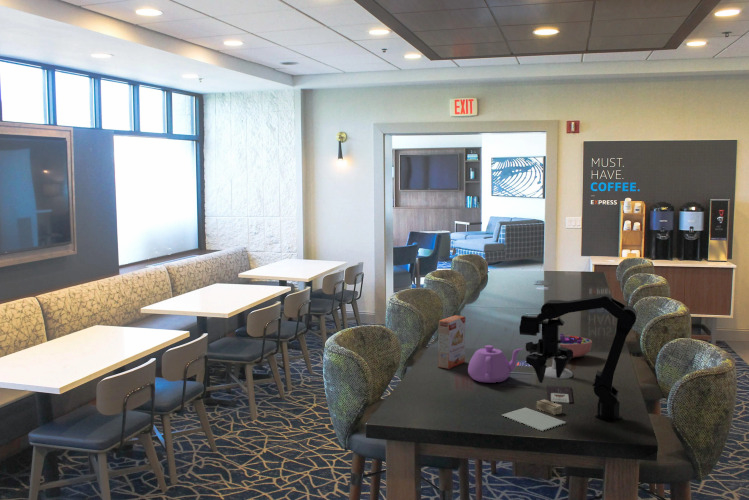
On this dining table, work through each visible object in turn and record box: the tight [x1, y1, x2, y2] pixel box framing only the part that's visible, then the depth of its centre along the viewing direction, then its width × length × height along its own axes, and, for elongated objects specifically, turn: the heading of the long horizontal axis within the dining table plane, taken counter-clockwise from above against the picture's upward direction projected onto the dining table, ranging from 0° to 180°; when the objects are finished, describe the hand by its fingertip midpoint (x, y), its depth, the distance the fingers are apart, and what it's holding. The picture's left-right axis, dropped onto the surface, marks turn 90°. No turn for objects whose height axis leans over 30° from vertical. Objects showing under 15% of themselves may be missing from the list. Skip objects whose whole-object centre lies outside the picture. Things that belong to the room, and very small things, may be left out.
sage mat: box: [501, 407, 567, 432], centre depth 235 cm, size 18×12×1 cm, turn 36°
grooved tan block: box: [536, 398, 563, 416], centre depth 243 cm, size 8×4×3 cm, turn 36°
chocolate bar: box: [546, 385, 574, 405], centre depth 260 cm, size 9×1×18 cm
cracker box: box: [437, 314, 466, 370], centre depth 301 cm, size 14×6×21 cm, turn 143°
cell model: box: [560, 332, 593, 359], centre depth 310 cm, size 17×20×11 cm
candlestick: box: [544, 317, 573, 380], centre depth 285 cm, size 13×13×30 cm
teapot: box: [467, 344, 523, 384], centre depth 280 cm, size 22×22×14 cm
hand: (549, 380), depth 242 cm, fingers open, 9 cm apart
